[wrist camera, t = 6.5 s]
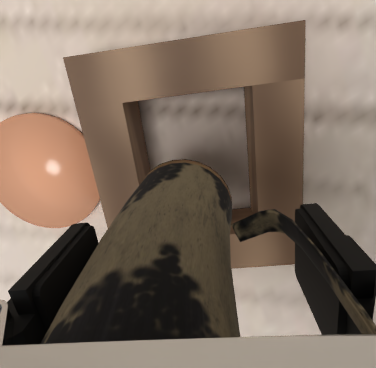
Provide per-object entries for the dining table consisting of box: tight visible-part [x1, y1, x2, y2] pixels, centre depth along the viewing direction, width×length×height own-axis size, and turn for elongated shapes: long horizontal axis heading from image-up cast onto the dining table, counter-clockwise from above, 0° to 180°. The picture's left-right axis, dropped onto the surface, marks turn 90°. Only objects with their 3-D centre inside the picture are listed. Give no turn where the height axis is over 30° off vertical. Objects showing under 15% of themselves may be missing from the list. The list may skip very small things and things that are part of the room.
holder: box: [63, 20, 305, 268], centre depth 20 cm, size 14×16×4 cm
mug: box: [41, 159, 376, 344], centre depth 10 cm, size 8×6×12 cm
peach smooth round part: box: [0, 113, 100, 228], centre depth 23 cm, size 10×10×1 cm
